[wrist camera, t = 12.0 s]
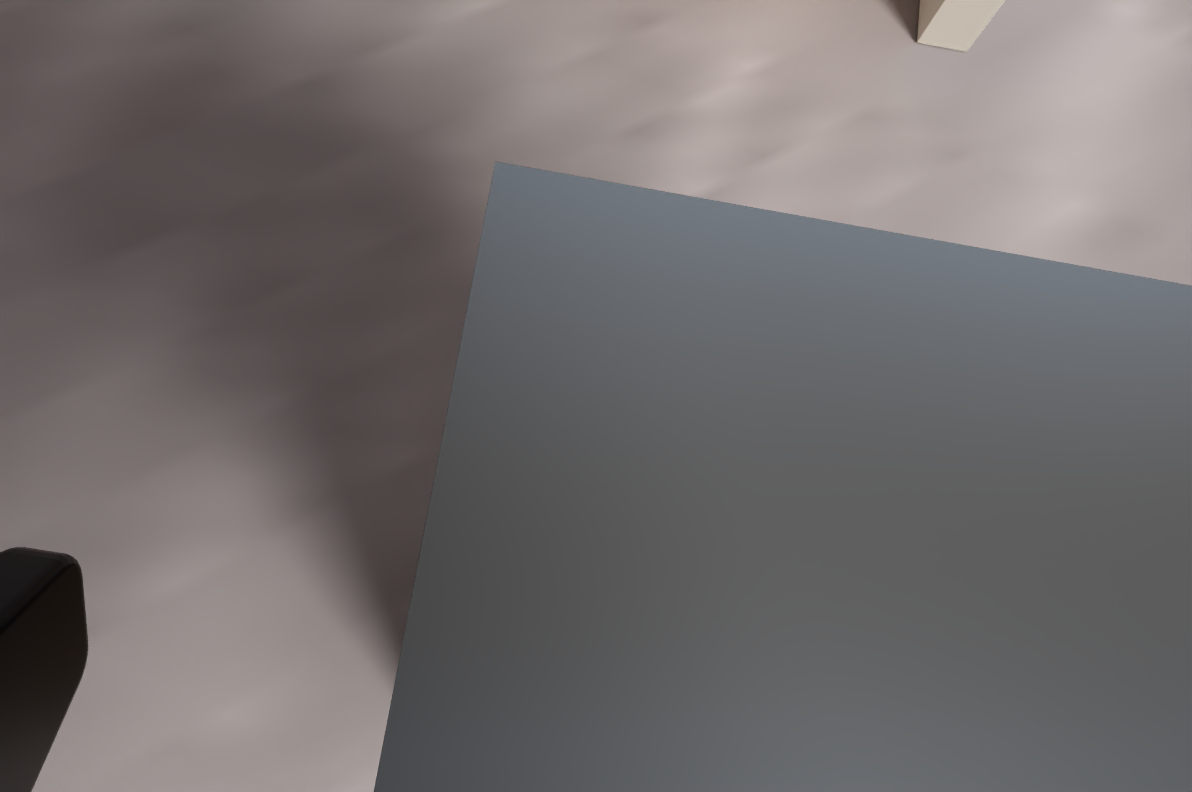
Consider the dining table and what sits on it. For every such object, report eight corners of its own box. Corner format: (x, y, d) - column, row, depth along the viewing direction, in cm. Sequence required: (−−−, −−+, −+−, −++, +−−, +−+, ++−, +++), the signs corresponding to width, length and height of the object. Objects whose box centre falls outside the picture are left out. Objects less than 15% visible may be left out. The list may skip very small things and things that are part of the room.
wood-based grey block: (704, 810, 17) (1254, 1153, 5) (451, 772, 16) (329, 1026, 4) (733, 556, 18) (1238, 294, 6) (495, 518, 17) (494, 162, 5)
